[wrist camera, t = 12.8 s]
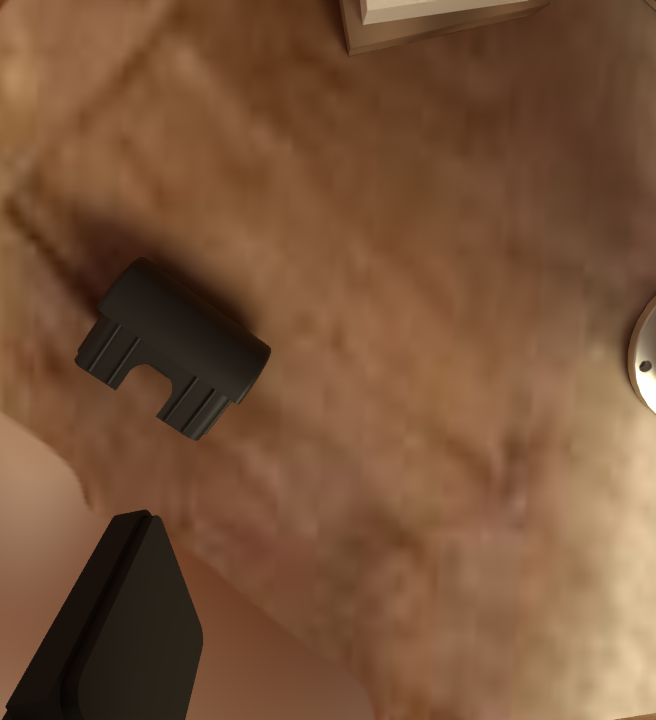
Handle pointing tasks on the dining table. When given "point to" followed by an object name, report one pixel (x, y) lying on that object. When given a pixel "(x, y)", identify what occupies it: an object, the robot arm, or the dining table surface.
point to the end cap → (173, 346)
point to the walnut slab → (423, 24)
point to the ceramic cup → (652, 3)
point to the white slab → (418, 8)
